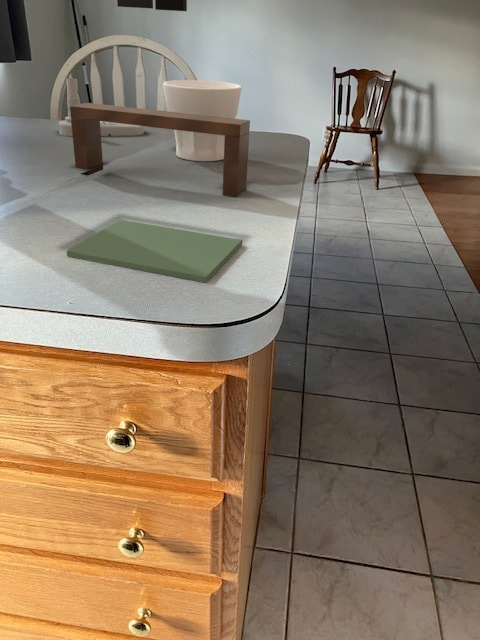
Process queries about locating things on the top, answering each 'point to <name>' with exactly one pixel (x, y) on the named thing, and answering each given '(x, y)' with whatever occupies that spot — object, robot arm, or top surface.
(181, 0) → the robot arm
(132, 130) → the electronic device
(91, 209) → the top surface
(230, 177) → the brown wooden arch
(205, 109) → the cup
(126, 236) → the mat
